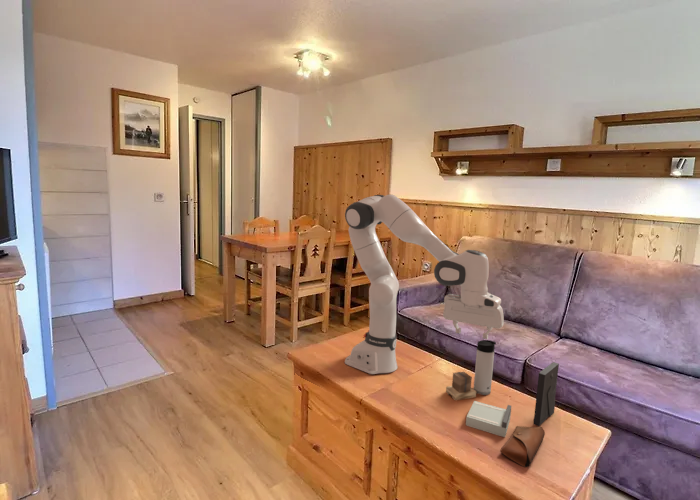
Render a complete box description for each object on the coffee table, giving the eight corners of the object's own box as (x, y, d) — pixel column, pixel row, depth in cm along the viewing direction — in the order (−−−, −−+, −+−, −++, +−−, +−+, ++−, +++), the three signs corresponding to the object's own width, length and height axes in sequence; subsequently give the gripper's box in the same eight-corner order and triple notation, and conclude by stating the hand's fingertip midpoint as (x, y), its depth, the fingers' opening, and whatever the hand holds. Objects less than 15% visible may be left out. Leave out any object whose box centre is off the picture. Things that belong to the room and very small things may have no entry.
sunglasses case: (515, 424, 126) (530, 413, 123) (533, 443, 124) (548, 432, 120) (498, 451, 112) (514, 440, 109) (517, 474, 109) (534, 463, 106)
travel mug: (492, 396, 147) (497, 345, 144) (474, 394, 148) (478, 343, 146) (490, 388, 153) (494, 339, 150) (472, 386, 154) (476, 337, 152)
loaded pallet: (454, 400, 143) (456, 379, 142) (445, 392, 149) (447, 372, 148) (475, 397, 146) (477, 377, 145) (466, 389, 152) (467, 370, 151)
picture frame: (547, 409, 139) (553, 361, 137) (554, 412, 137) (560, 364, 135) (533, 424, 130) (538, 372, 127) (540, 426, 128) (546, 375, 126)
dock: (465, 425, 127) (466, 411, 127) (473, 408, 138) (474, 395, 137) (505, 437, 122) (506, 422, 121) (510, 419, 132) (511, 405, 131)
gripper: (441, 294, 139) (439, 332, 141) (502, 303, 128) (499, 344, 130) (447, 291, 144) (445, 327, 146) (506, 299, 133) (503, 338, 135)
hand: (471, 335), depth 138 cm, fingers open, 8 cm apart
